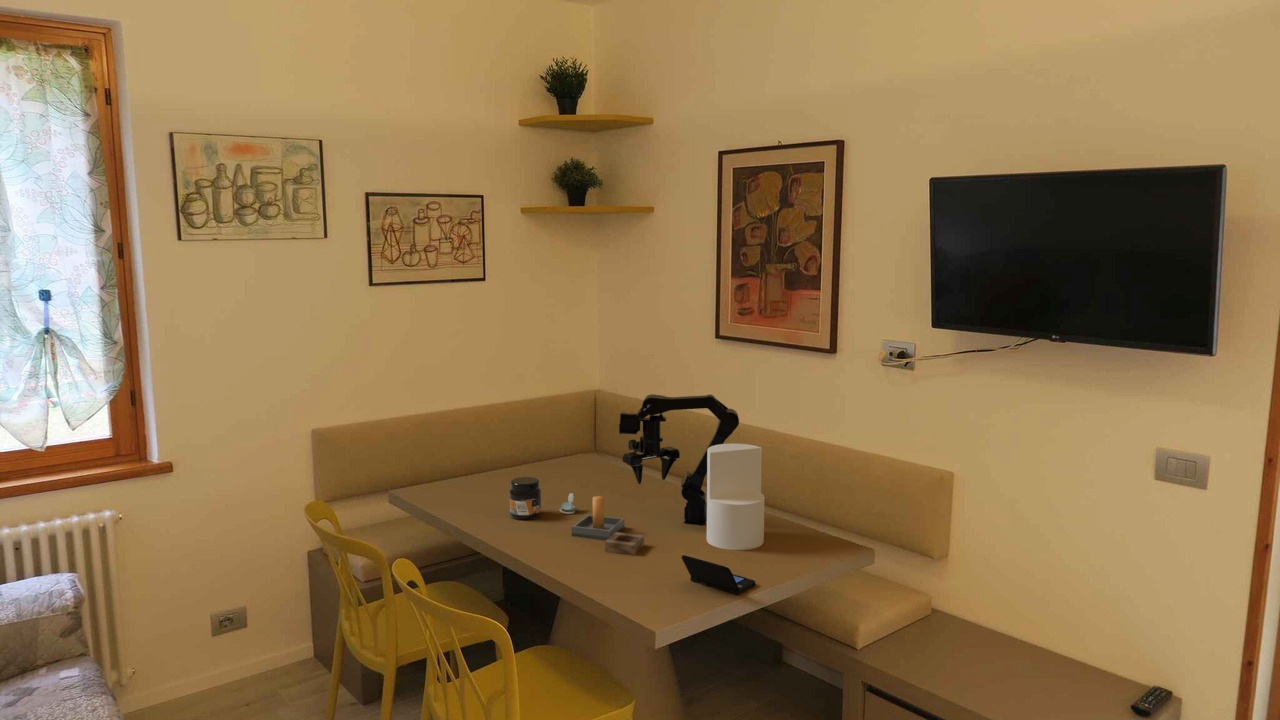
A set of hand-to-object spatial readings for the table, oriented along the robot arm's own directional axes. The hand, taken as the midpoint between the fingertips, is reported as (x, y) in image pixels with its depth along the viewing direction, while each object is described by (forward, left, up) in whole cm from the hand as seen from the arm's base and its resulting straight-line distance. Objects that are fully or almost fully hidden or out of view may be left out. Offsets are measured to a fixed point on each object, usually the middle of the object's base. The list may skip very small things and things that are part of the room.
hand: (651, 481), depth 286 cm
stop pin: (+12, +16, -12) cm, 23 cm away
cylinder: (-30, +9, -13) cm, 34 cm away
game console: (-34, +45, -14) cm, 58 cm away
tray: (+12, +16, -13) cm, 24 cm away
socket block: (-1, +27, -13) cm, 30 cm away
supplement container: (+41, +9, -13) cm, 44 cm away
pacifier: (+29, 0, -13) cm, 32 cm away
